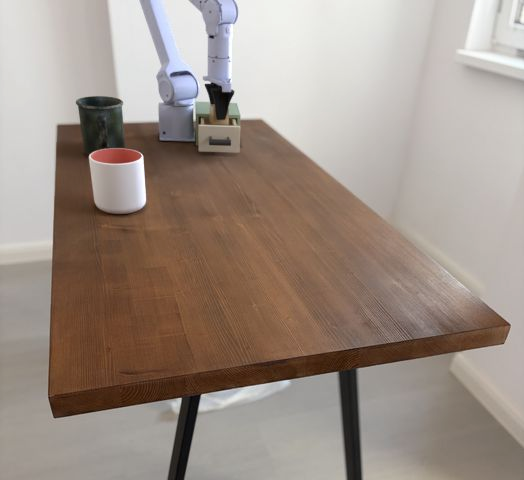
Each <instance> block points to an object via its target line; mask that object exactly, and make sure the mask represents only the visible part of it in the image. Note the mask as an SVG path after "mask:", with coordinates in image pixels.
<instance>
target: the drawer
mask: <svg viewBox="0 0 524 480" xmlns="http://www.w3.org/2000/svg"><path fill="white" fill-rule="evenodd" d="M209 120H210V117H201V125H198V143H199V146H198V152H200V153H201V152H202V153H229V154H230V153H233V154H234V153H235V154H239V153H240V151H241V149H240V148H241V125H240V126H237V124H236V120H235V118H229V125H213V124H212V123H211V122H210V121H209Z"/></svg>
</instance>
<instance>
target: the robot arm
mask: <svg viewBox="0 0 524 480" xmlns="http://www.w3.org/2000/svg"><path fill="white" fill-rule="evenodd" d="M138 1H139V4H140V6H141V10H142V13H143V16H144V18H145V21H146V25H147V27H148V30H149V34H150V36H151V39H152V42H153V44H154V48H155V51H156V54H157V57H158V59H159V63H160V65H161V66H160V69H159V70H158V71H157V74H156V76H155V78H156V81H157V88H158V95H159V97H160V98H161V100H162V102H158V105H157V107H158V108H157V109H158V111H157V112H158V125H157V127H158V133H159V141H161V142H191V143H196V131H194V104H195V101H196V99H197V98H199V96H200V89H201V87H200V82H199V80H198V77H196V75H195V74H194V72H193V68H192V67H191V66H190V65H189V64H188V63H186V62H185V61H183V59H182V58H181V57H182V56H181V55H180V51H179V48H178V44H177V41H176V39H175V36H174V33H173V29H172V26H171V24H170V20H169V17H168V15H167V11H166V8H165V5H164V1H163V0H138ZM188 1H189V2H190V4H192V5H193V6H194V7H195V9H197V10H198V11H199V12H201V15H202V19H203V22H204V24H205V32H206V34H207V75H203V76H202V80H203V81H204V82H210V83H204V87H205V90H206V93H207V95H208V99H209V102H210V104H215V111H216V117H217V120H225V119H226V116H227V111H228V107H229V104H230V103H231V100H232V99H233V97H234V95H235V90H234V89H232V81H233V78H232V59H233V57H232V56H233V25H235V24H236V23H237V20H238V18H239V8H238V3H237V2H236V1H235V0H188Z"/></svg>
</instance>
